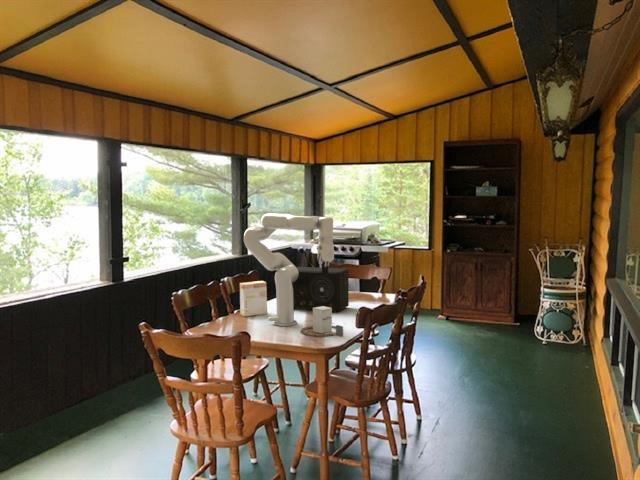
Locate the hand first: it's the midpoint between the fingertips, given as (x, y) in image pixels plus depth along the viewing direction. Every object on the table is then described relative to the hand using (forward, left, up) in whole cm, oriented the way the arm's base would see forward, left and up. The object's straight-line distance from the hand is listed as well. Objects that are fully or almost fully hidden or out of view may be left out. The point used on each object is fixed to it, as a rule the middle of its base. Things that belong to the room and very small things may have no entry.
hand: (324, 273), depth 292 cm
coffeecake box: (-35, +42, -29) cm, 62 cm away
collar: (-3, -11, -29) cm, 31 cm away
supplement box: (-4, -10, -29) cm, 31 cm away
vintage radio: (+5, +48, -29) cm, 57 cm away
